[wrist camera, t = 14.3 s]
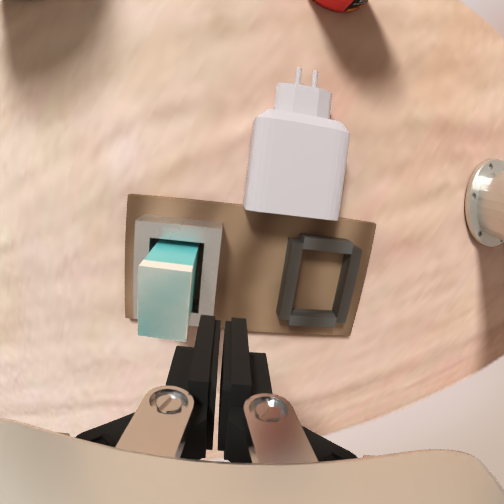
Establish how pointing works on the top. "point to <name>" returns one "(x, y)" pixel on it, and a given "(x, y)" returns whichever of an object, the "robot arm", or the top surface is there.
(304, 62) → the top surface
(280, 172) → the charger
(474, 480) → the robot arm
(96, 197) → the top surface
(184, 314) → the plug
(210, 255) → the frame
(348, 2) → the canned food
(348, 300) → the brown socket board
